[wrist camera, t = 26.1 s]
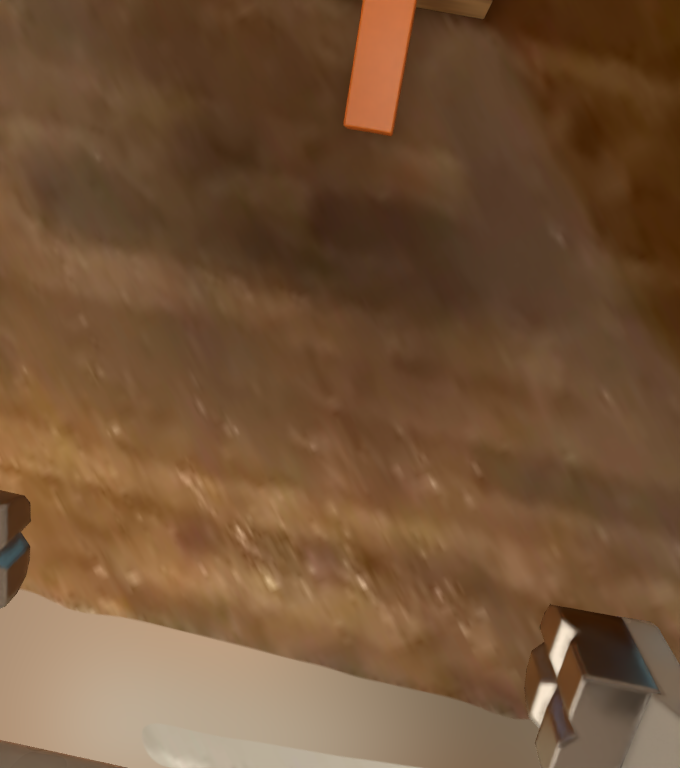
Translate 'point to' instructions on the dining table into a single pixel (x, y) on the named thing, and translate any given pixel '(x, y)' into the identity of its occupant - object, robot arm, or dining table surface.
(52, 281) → the dining table surface
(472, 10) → the riser box
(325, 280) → the dining table surface
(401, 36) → the measuring cup
